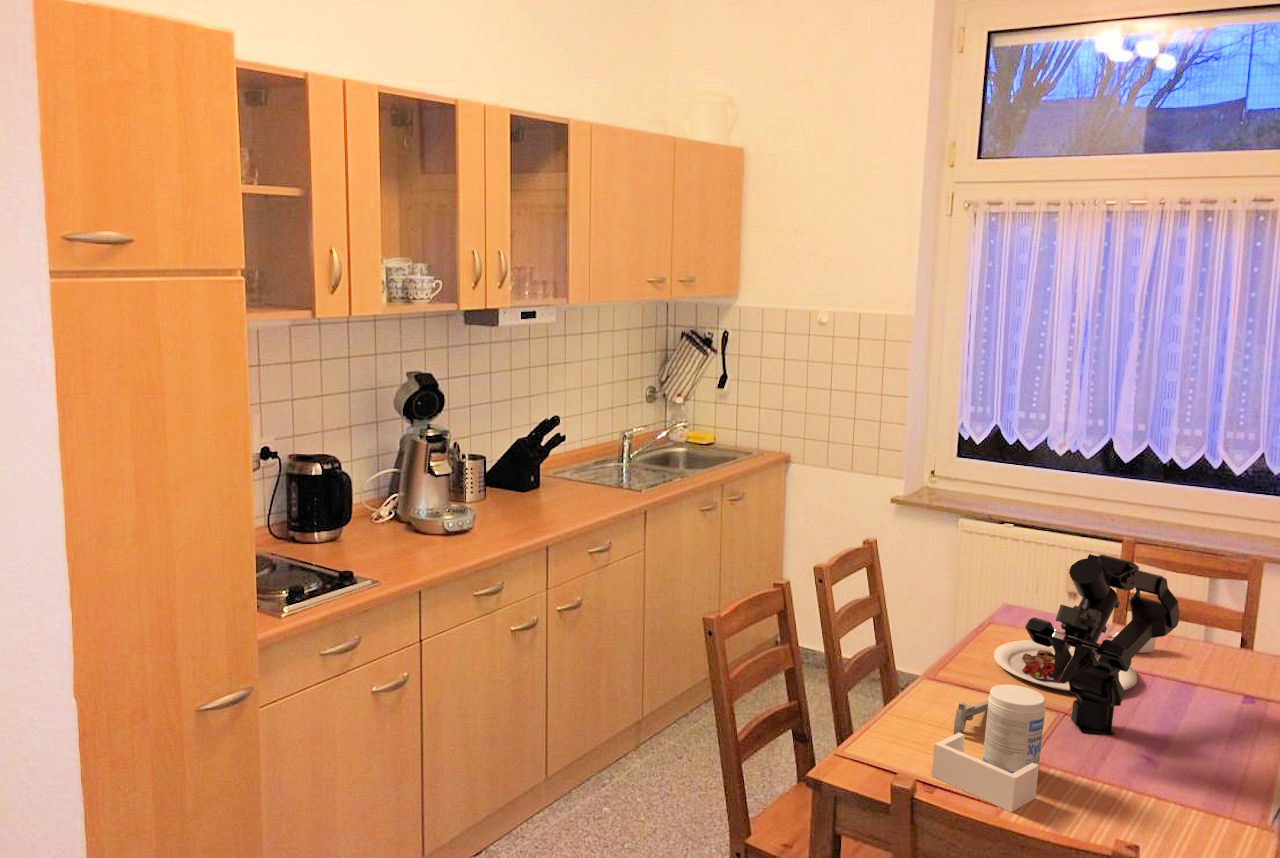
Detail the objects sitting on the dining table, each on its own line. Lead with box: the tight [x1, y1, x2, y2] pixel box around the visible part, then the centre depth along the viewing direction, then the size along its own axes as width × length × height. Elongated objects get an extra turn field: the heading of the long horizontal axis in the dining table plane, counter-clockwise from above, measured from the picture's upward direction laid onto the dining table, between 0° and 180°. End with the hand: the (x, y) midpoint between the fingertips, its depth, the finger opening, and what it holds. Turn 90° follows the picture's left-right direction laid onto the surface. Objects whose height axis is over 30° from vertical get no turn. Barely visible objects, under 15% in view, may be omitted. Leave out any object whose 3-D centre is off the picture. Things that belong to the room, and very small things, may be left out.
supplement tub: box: [982, 684, 1046, 773], centre depth 189 cm, size 10×10×15 cm
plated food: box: [993, 639, 1138, 692], centre depth 238 cm, size 30×30×3 cm
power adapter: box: [1106, 631, 1157, 654], centre depth 252 cm, size 11×5×6 cm, turn 103°
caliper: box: [953, 700, 988, 735], centre depth 211 cm, size 21×1×6 cm, turn 141°
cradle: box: [931, 732, 1040, 813], centre depth 184 cm, size 8×15×6 cm, turn 41°
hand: (1058, 681), depth 197 cm, fingers closed
